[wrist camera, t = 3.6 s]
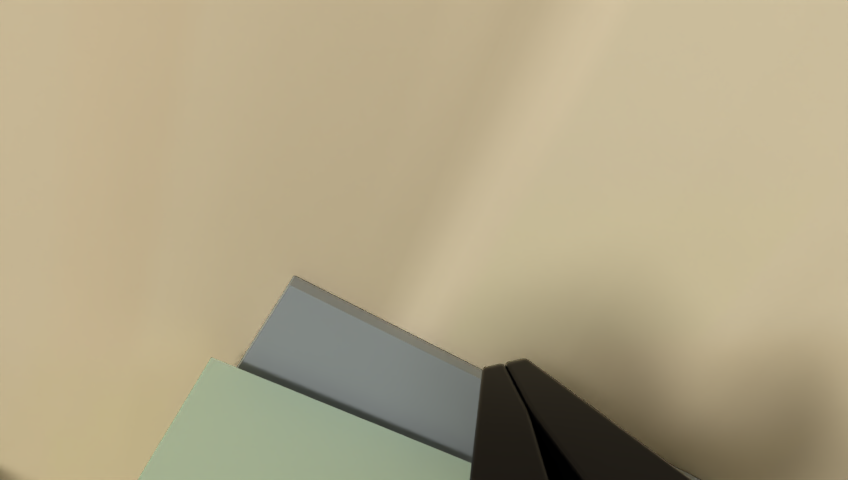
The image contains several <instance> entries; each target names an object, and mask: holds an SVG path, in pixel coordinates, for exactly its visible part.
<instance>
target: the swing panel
mask: <svg viewBox="0 0 848 480" xmlns="http://www.w3.org/2000/svg"><path fill="white" fill-rule="evenodd" d="M470 471H471V463H470V462H467V461H465V460H463V459H460V458H458V457H455V456H453V455H450V454H448V453H445V452H443V451H440V450H438V449H436V448H433V447H431V446H428V445H426V444H423V443H421V442H418V441H416V440H413V439H411V438H408V437H406V436H404V435H401V434H399V433H396V432H394V431H391V430H389V429H386V428H384V427H381V426H379V425H377V424H374V423H372V422H369V421H367V420H364V419H362V418H359V417H357V416H354V415H352V414H349V413H347V412H345V411H342V410H340V409H337V408H335V407H332V406H330V405H327V404H325V403H322V402H320V401H318V400H315V399H313V398H310V397H308V396H305V395H303V394H300V393H298V392H295V391H293V390H290V389H288V388H286V387H283V386H281V385H278V384H276V383H273V382H271V381H268V380H266V379H263V378H261V377H259V376H256V375H254V374H251V373H249V372H246V371H244V370H241V369H239V368H236V367H234V366H231V365H229V364H227V363H224V362H222V361H219V360H217V359H214V358H212V357H211V359H210V360H209V362H208V364H207V365H206V367H205V369H204V370H203V372H202V374H201V375H200V377H199V379H198V380H197V382H196V384H195V385H194V387H193V389H192V390H191V392H190V394H189V395H188V397H187V399H186V400H185V402H184V404H183V405H182V407H181V409H180V410H179V412H178V414H177V415H176V417H175V419H174V420H173V422H172V424H171V425H170V427H169V429H168V430H167V432H166V434H165V435H164V437H163V439H162V440H161V442H160V444H159V445H158V447H157V449H156V450H155V452H154V454H153V455H152V457H151V459H150V460H149V462H148V463H147V465H146V467H145V468H144V470H143V472H142V473H141V475H140V477H139V478H138V480H470Z"/></svg>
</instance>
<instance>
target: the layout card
mask: <svg viewBox="0 0 848 480" xmlns="http://www.w3.org/2000/svg"><path fill="white" fill-rule="evenodd" d="M237 368H239V369H241V370H244V371H246V372H249V373H251V374H254V375H256V376H259V377H261V378H263V379H266V380H268V381H271V382H273V383H276V384H278V385H281V386H283V387H286V388H288V389H290V390H293V391H295V392H298V393H300V394H303V395H305V396H308V397H310V398H313V399H315V400H318V401H320V402H322V403H325V404H327V405H330V406H332V407H335V408H337V409H340V410H342V411H345V412H347V413H349V414H352V415H354V416H357V417H359V418H362V419H364V420H367V421H369V422H372V423H374V424H377V425H379V426H381V427H384V428H386V429H389V430H391V431H394V432H396V433H399V434H401V435H404V436H406V437H408V438H411V439H413V440H416V441H418V442H421V443H423V444H426V445H428V446H431V447H433V448H436V449H438V450H440V451H443V452H445V453H448V454H450V455H453V456H455V457H458V458H460V459H463V460H465V461H467V462H470V463H472V454H473V445H474V437H475V428H476V419H477V410H478V402H479V393H480V384H481V376H482V370H481V369H479V368H477V367H475V366H473V365H471V364H469V363H467V362H465V361H463V360H461V359H459V358H457V357H455V356H453V355H451V354H449V353H447V352H445V351H443V350H441V349H439V348H437V347H435V346H433V345H431V344H429V343H427V342H425V341H423V340H422V339H420V338H418V337H416V336H414V335H412V334H410V333H408V332H406V331H404V330H402V329H400V328H398V327H396V326H394V325H392V324H390V323H388V322H386V321H384V320H382V319H380V318H378V317H376V316H374V315H372V314H370V313H368V312H366V311H364V310H362V309H360V308H358V307H356V306H354V305H352V304H350V303H348V302H346V301H344V300H342V299H340V298H338V297H336V296H334V295H332V294H330V293H328V292H326V291H324V290H322V289H320V288H318V287H316V286H314V285H312V284H310V283H308V282H306V281H304V280H302V279H300V278H298V277H296V276H293V278H292V280H291V281H290V283H289V284H288V286H287V288H286V289H285V291H284V292H283V294H282V296H281V297H280V299H279V300H278V302H277V304H276V305H275V307H274V308H273V310H272V312H271V313H270V315H269V316H268V318H267V320H266V321H265V323H264V324H263V326H262V328H261V329H260V331H259V332H258V334H257V336H256V337H255V339H254V340H253V342H252V344H251V345H250V347H249V348H248V350H247V352H246V353H245V355H244V356H243V358H242V360H241V361H240V363H239V364H238V366H237ZM675 468H676V467H675ZM676 469H678V468H676ZM678 470H679V471H680V472H682V473H683V474H685V475H686V476H687V477H689V478H690V479H691V480H700V479H698V478H696V477H694V476H692V475H690V474H688V473H686V472H684V471H682V470H680V469H678Z"/></svg>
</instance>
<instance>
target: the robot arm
mask: <svg viewBox="0 0 848 480" xmlns="http://www.w3.org/2000/svg"><path fill="white" fill-rule="evenodd" d="M470 480H691V479H690V478H689V477H687V476H686V475H685V474H683V473H682V472H680V471H679V470H678V469H676V468H675V467H674V466H672V465H671V464H670V463H668V462H667V461H665V460H664V459H663V458H661V457H660V456H659V455H657V454H656V453H655V452H653V451H652V450H650V449H649V448H648V447H646V446H645V445H644V444H642V443H641V442H640V441H638V440H637V439H635V438H634V437H633V436H631V435H630V434H629V433H627V432H626V431H625V430H623V429H622V428H620V427H619V426H618V425H616V424H615V423H614V422H612V421H611V420H610V419H608V418H607V417H605V416H604V415H603V414H601V413H600V412H599V411H597V410H596V409H595V408H593V407H592V406H590V405H589V404H588V403H586V402H585V401H584V400H582V399H581V398H580V397H578V396H577V395H575V394H574V393H573V392H571V391H570V390H569V389H567V388H566V387H565V386H563V385H562V384H560V383H559V382H558V381H556V380H555V379H554V378H552V377H551V376H550V375H548V374H547V373H545V372H544V371H543V370H541V369H540V368H539V367H537V366H536V365H535V364H533V363H532V362H530V361H529V360H527V359H518V360H514V361H509V362H507V363H506V364H505V366H504V365H503V364H496V365H492V366H487V367H484V368H483V370H482V376H481V384H480V393H479V402H478V410H477V419H476V428H475V437H474V445H473V454H472V463H471V471H470Z"/></svg>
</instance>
